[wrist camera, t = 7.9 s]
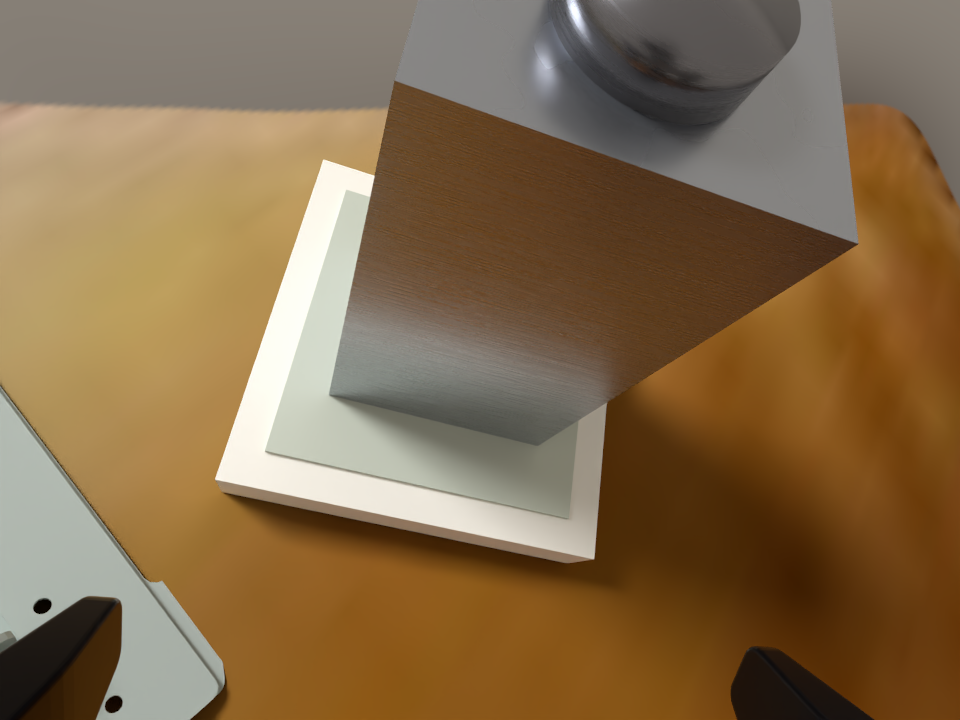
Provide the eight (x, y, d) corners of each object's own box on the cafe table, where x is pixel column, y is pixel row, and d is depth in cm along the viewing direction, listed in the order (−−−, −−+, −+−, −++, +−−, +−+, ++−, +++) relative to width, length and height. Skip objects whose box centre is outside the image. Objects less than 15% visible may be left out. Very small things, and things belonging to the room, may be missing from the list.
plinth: (566, 563, 20) (596, 558, 18) (222, 492, 18) (214, 478, 16) (594, 279, 25) (620, 251, 23) (320, 194, 23) (323, 156, 21)
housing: (537, 445, 19) (926, 201, 8) (328, 395, 18) (409, 5, 6) (555, 300, 21) (880, -66, 10) (370, 245, 20) (488, -253, 8)
